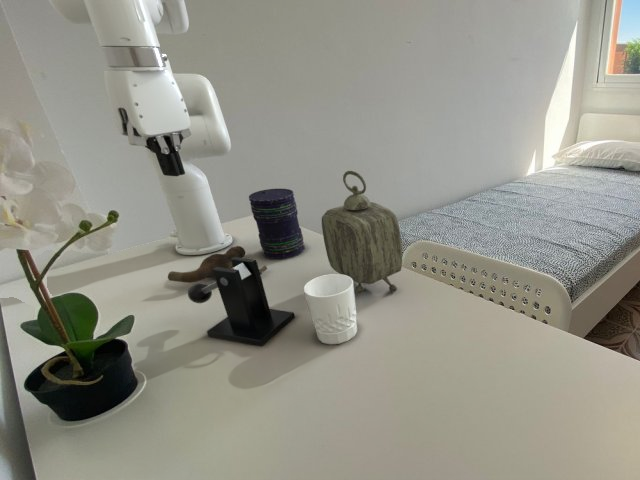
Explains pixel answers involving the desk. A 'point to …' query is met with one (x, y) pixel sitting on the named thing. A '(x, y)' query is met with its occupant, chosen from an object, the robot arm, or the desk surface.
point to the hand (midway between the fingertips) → (174, 174)
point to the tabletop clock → (362, 239)
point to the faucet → (210, 266)
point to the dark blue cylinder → (277, 223)
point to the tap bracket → (246, 307)
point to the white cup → (332, 307)
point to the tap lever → (211, 287)
